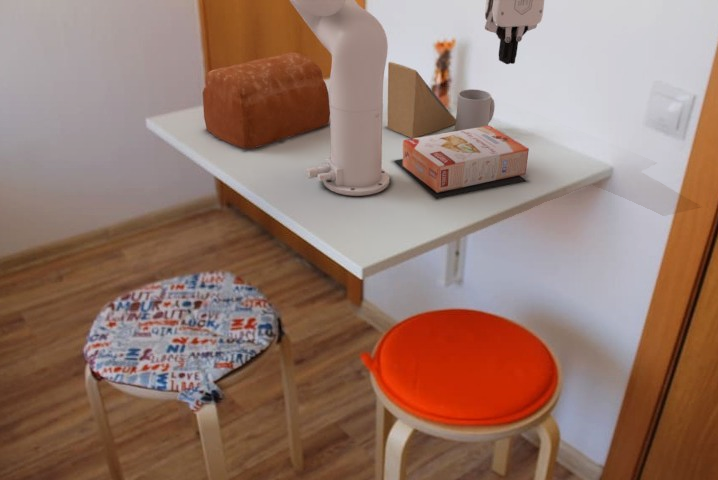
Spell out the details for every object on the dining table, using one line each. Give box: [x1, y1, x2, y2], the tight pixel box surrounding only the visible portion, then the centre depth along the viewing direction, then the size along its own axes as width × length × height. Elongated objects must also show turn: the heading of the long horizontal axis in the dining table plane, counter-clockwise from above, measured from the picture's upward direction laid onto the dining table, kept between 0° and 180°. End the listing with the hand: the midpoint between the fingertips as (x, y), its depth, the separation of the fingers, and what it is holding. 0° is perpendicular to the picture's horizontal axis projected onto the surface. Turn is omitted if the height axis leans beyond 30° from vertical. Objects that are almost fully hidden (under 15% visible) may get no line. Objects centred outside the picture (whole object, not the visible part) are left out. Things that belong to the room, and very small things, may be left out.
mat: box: [394, 158, 527, 199], centre depth 144 cm, size 20×18×1 cm
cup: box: [454, 88, 495, 131], centre depth 160 cm, size 7×10×9 cm
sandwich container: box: [387, 61, 456, 139], centre depth 161 cm, size 9×15×15 cm, turn 135°
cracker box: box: [402, 125, 530, 193], centre depth 142 cm, size 14×6×21 cm
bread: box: [202, 51, 330, 149], centre depth 156 cm, size 17×24×15 cm
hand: (506, 61), depth 136 cm, fingers closed
